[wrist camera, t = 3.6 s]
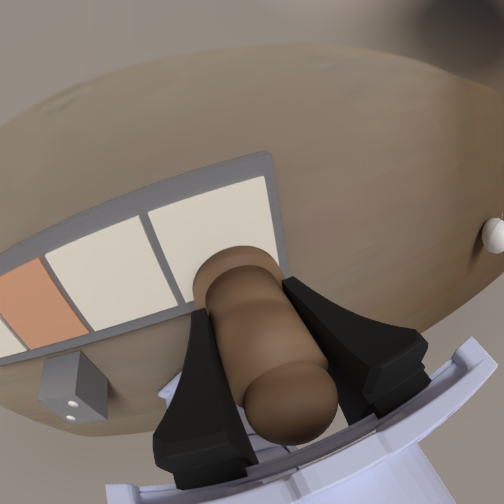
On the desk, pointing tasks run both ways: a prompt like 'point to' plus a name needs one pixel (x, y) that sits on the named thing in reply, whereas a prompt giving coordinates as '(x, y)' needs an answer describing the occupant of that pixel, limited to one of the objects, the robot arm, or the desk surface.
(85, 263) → the board
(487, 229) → the seamed sphere
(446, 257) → the desk surface
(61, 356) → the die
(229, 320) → the pawn
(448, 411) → the robot arm
